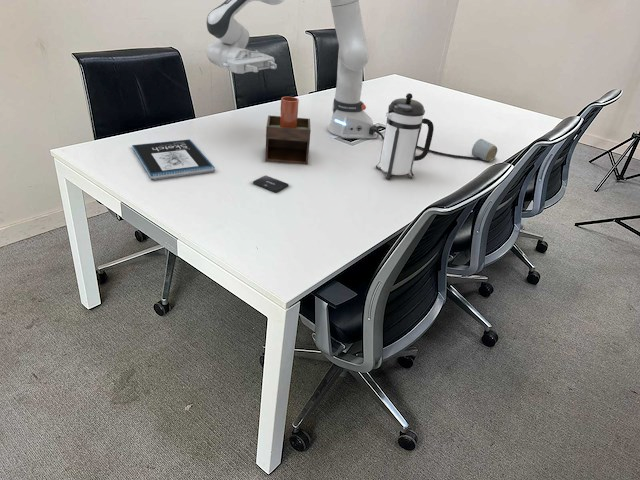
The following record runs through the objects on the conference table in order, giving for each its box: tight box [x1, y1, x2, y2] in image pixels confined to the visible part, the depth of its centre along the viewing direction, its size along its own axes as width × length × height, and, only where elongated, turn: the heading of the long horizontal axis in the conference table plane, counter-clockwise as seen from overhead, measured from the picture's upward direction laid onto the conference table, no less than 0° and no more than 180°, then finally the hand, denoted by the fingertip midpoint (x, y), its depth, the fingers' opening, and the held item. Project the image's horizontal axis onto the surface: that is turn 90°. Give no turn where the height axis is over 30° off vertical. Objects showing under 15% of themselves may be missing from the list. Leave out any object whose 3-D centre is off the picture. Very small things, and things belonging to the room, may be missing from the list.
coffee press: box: [375, 92, 435, 181], centre depth 168 cm, size 17×16×30 cm
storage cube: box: [264, 114, 312, 165], centre depth 176 cm, size 16×13×14 cm
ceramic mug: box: [471, 138, 498, 162], centre depth 196 cm, size 11×8×8 cm
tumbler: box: [279, 96, 300, 128], centre depth 171 cm, size 6×6×12 cm
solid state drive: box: [252, 174, 289, 193], centre depth 157 cm, size 7×10×1 cm
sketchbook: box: [131, 138, 216, 181], centre depth 166 cm, size 22×30×2 cm
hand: (266, 68), depth 170 cm, fingers open, 8 cm apart
